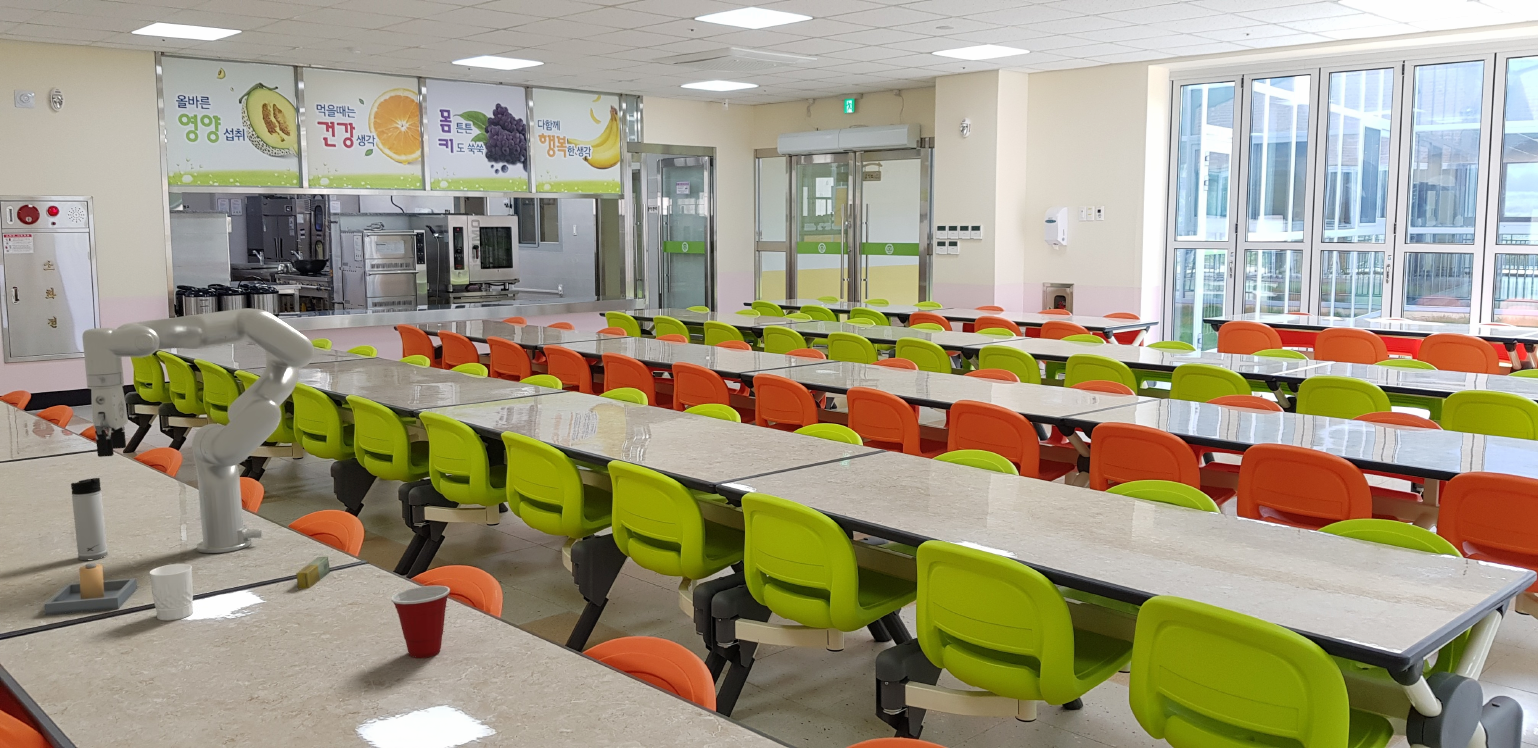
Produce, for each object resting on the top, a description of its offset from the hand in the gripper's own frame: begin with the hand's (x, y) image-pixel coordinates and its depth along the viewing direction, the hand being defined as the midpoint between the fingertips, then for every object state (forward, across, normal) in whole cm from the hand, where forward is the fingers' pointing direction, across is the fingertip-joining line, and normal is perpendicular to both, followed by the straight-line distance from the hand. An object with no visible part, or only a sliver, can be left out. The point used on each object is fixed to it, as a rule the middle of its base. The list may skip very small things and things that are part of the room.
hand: (112, 452), depth 271 cm
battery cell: (+28, -26, -1) cm, 38 cm away
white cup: (+28, -41, -21) cm, 54 cm away
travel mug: (+28, +12, +10) cm, 32 cm away
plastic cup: (+28, -78, -73) cm, 111 cm away
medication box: (+29, -24, -46) cm, 60 cm away
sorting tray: (+28, -26, -1) cm, 38 cm away
